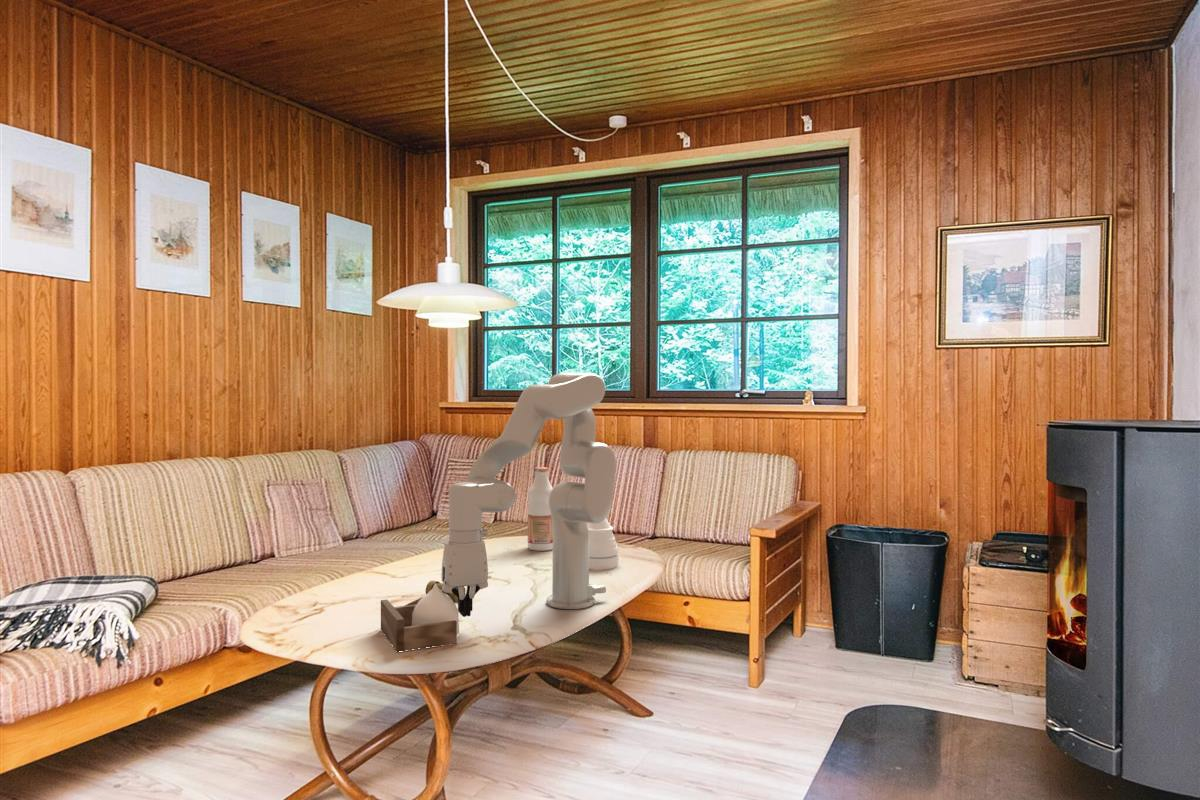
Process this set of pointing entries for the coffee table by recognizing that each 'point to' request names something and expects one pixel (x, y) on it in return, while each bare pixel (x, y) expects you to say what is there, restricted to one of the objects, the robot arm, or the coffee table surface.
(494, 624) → the coffee table surface
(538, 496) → the fruit juice
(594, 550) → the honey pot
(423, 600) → the teardrop
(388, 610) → the box
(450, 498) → the robot arm
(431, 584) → the gavel
